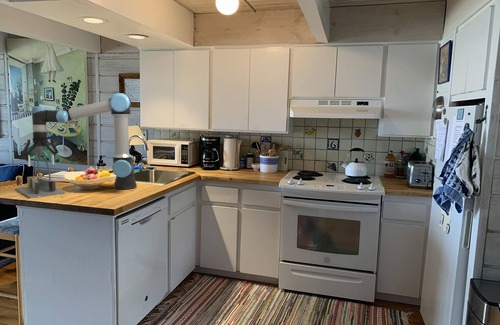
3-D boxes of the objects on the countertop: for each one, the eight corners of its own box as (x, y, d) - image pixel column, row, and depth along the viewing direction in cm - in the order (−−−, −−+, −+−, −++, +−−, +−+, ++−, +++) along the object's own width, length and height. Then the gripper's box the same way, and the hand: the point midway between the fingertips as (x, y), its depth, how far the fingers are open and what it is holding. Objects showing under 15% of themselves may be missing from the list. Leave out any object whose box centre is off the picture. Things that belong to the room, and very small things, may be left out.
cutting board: (15, 189, 234) (15, 188, 234) (48, 186, 249) (48, 184, 249) (29, 198, 214) (29, 196, 214) (65, 193, 229) (65, 191, 228)
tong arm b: (32, 187, 235) (31, 178, 234) (35, 187, 236) (35, 178, 235) (35, 193, 219) (35, 183, 219) (39, 192, 221) (38, 183, 220)
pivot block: (27, 187, 238) (27, 175, 237) (39, 186, 243) (38, 174, 242) (30, 188, 234) (29, 177, 233) (42, 187, 239) (41, 175, 238)
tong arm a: (37, 186, 236) (36, 177, 236) (40, 186, 238) (39, 177, 237) (52, 191, 226) (52, 181, 225) (55, 190, 228) (55, 181, 227)
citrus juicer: (51, 182, 260) (49, 141, 256) (39, 185, 250) (37, 142, 246) (38, 181, 263) (36, 140, 259) (26, 184, 253) (24, 141, 249)
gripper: (59, 130, 234) (60, 163, 237) (14, 131, 216) (16, 165, 219) (63, 131, 229) (64, 164, 232) (18, 132, 211) (20, 167, 214)
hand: (41, 165), depth 225 cm, fingers open, 13 cm apart
